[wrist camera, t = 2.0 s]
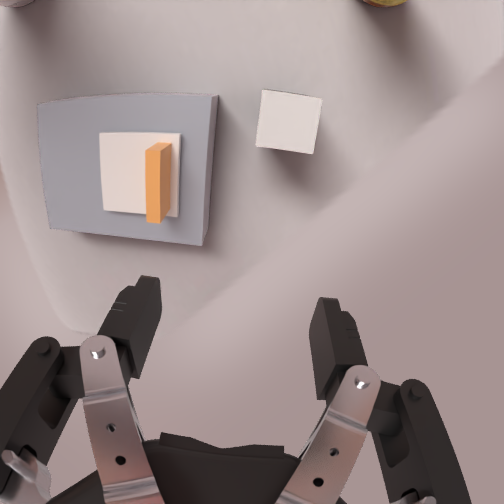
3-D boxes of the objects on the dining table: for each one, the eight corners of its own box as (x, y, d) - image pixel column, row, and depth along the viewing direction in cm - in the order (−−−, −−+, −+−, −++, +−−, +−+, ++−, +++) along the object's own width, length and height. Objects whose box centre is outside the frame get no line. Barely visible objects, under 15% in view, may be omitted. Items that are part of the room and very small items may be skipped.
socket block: (59, 99, 25) (37, 104, 22) (218, 94, 26) (211, 96, 22) (67, 213, 32) (50, 228, 29) (208, 227, 33) (201, 245, 30)
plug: (262, 88, 25) (262, 89, 18) (306, 94, 25) (322, 98, 19) (257, 129, 27) (255, 146, 21) (300, 135, 28) (312, 154, 21)
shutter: (102, 131, 23) (82, 140, 20) (181, 133, 24) (169, 141, 21) (106, 207, 27) (89, 224, 24) (178, 214, 28) (168, 232, 24)
